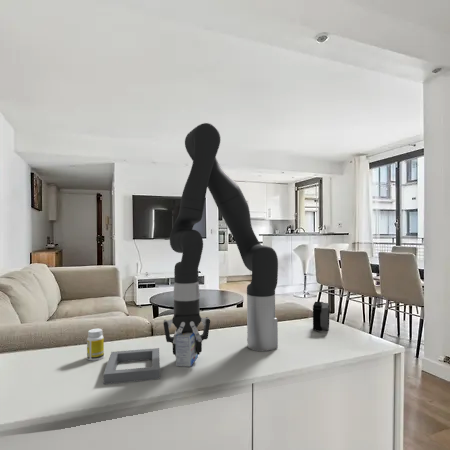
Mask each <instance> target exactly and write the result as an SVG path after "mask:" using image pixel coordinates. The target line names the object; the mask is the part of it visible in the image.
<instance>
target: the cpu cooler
mask: <svg viewBox="0 0 450 450" xmlns="http://www.w3.org/2000/svg"><path fill="white" fill-rule="evenodd" d="M312 329H313V331H321V332H322V331H325V332H329V331H330V303H329V302H323V301H315V302H314V303H313V304H312Z"/></svg>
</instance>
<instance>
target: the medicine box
mask: <svg viewBox="0 0 450 450" xmlns="http://www.w3.org/2000/svg"><path fill="white" fill-rule="evenodd" d="M196 340H197V338H196V336H195V334H194V332H186V333H182V332H181V335H177V336H176V357H175V366H177V367H185V368H186V367H187V368H190V367H192V365H193V364H194V363H195V361H196V359H197V358H198V356H199V355H197V353H196Z"/></svg>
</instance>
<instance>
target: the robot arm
mask: <svg viewBox="0 0 450 450" xmlns="http://www.w3.org/2000/svg"><path fill="white" fill-rule="evenodd" d="M221 141H222V140H221V135H220V131H219V129H218V128H217V127H216V126H215V125H213V124H212V123H209V122H207V123H206V122H203V123H201V124H198V125H197V126H195V127H194V128H193V129H192V130H191V131H189V132H188V133H187V135H186V136H185V138H184V147H185V150H186V152H187V154H188V155H189V157H190V159H191V160H192V164H191V165H192V166H191V169H190V172H189V175H188V176H187V179H186V182H185V184H184V186H183V187H184V188H183V191H182V193H181V200H180V204H179V211H178V215H177V217H176V219H175V221H174V223H173V226H172V229H171V232H170V235H169V246H170V247H171V250H173V251H174V252H176V253H178V254H182V255H181V260H180V261H177V262H176V263H175V265H174V270H173V271H174V274H173V275H174V277H173V278H174V286H173V317H172V318H171V319H168V320H167V319H164V320H163V321H162V322H163V323H162V324H163V328H164V334H165V340H166V343H171V344H172V355H174V356H175V358H176V336H177V335H181V332H182V333H186V332H194V334H195V336H196V338H197V340H196V353H197V355H198V356H199V355H200V354H201V353H202V350H203V347H202V346H203V344H202V343H203V342H204V340H208V339H209V338H208V337H209V331H210V328H211V327H210V326H211V320H210V319H211V318H209V317H208V316H206V317H201V315H200V314H201V313H200V297H201V295H200V285H199V266H200V263H201V259H202V254H203V248H204V239H203V236H202V235H201V233H200V232H199V231H198V230H196V229H193V228H194V226H195V225H196V224H198V223H199V222H201V220H202V218H203V214H204V209H205V208H204V207H205V202H206V195H207V190H209V192H210V194H211V197H212V199H213V201H214V203H215V205H216V207H217V210H218V211H219V213H220V215H221V217H222V218H223V220H224V222H225V225H226V226H227V228H228V230H229V232H230V234H231V236H232V238H233V240H234V242H235V244H236V247H237V250H238V251H239V254H240V257H241V260H242V263H243V265H244V267H245V268H246V269H247V270H248V271H250V272H251V281H250V283H249V284H248V285H247V287H246V318H247V319H246V322H247V325H246V329H247V330H246V331H247V332H246V333H247V337H246V338H247V339H246V341H247V348H248V349H250V350H252V351H255V352H256V351H257V352H269V351H273V350H274V349H278V346H279V343H278V342H279V339H278V338H279V336H278V331H279V330H278V329H279V328H278V322H279V321H278V318H277V317H276V288H277V285H278V276H279V275H278V274H279V273H278V272H279V260H278V254H277V252H276V251H275V249H274V248H273V247H271V246H268V245H262V244H261V242H260V241H259V239H258V238H257V236H256V234H255V231H254V229H253V226H252V220H251V213H250V207H249V205H248V202H247V199H246V197H245V196H244V193H243V192H242V189H241V188H240V186H239V185H238V184H237V182H236V181H235V180H234V179H233V178H231V177H230V175H228V174H227V173H226V172H225V170H224V169H223V168H222V167H221V165H220V163H219V161H218V159H217V154H218V151H219V148H220V146H221ZM201 323H202V326H203V329H202V334H200V332H199V331H198V326H199V325H200V324H201ZM172 324H173V326H175V328H176V329H175V331H174V334H173V336H171V334H170V328H171V327H172Z"/></svg>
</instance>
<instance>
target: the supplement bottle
mask: <svg viewBox="0 0 450 450" xmlns="http://www.w3.org/2000/svg"><path fill="white" fill-rule="evenodd" d="M87 335H88V336H87V338H86V355H87V357H86V359H87V360H88V361H94V362H95V361H99V360H101V359H103V358H105V356H104V355H105V349H104V348H105V347H104V346H105V345H104V341H105V340H104V335H103V329H102V328H92V329H89V330H88V332H87Z"/></svg>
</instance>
